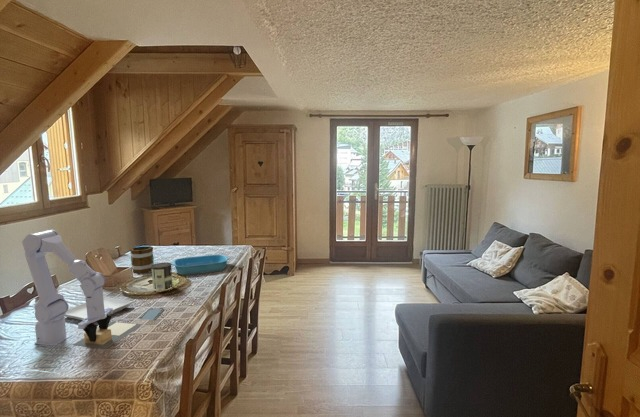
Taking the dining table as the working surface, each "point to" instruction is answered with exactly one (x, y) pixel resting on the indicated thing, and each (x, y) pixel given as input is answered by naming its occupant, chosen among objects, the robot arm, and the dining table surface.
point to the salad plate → (116, 304)
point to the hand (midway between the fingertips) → (98, 337)
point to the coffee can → (162, 276)
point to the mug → (142, 259)
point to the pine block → (100, 336)
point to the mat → (117, 333)
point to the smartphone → (152, 314)
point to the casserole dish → (200, 264)
